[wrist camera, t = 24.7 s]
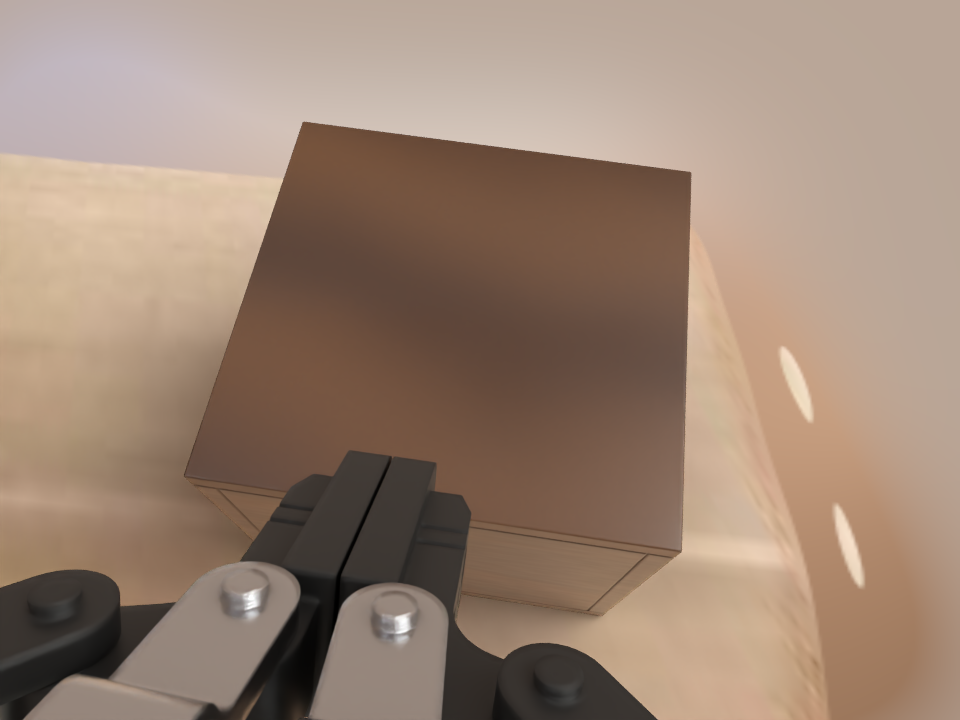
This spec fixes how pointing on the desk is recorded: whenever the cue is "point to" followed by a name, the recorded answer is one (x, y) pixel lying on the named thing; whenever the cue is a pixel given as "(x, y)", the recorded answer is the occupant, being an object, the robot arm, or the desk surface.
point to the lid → (467, 334)
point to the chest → (505, 561)
